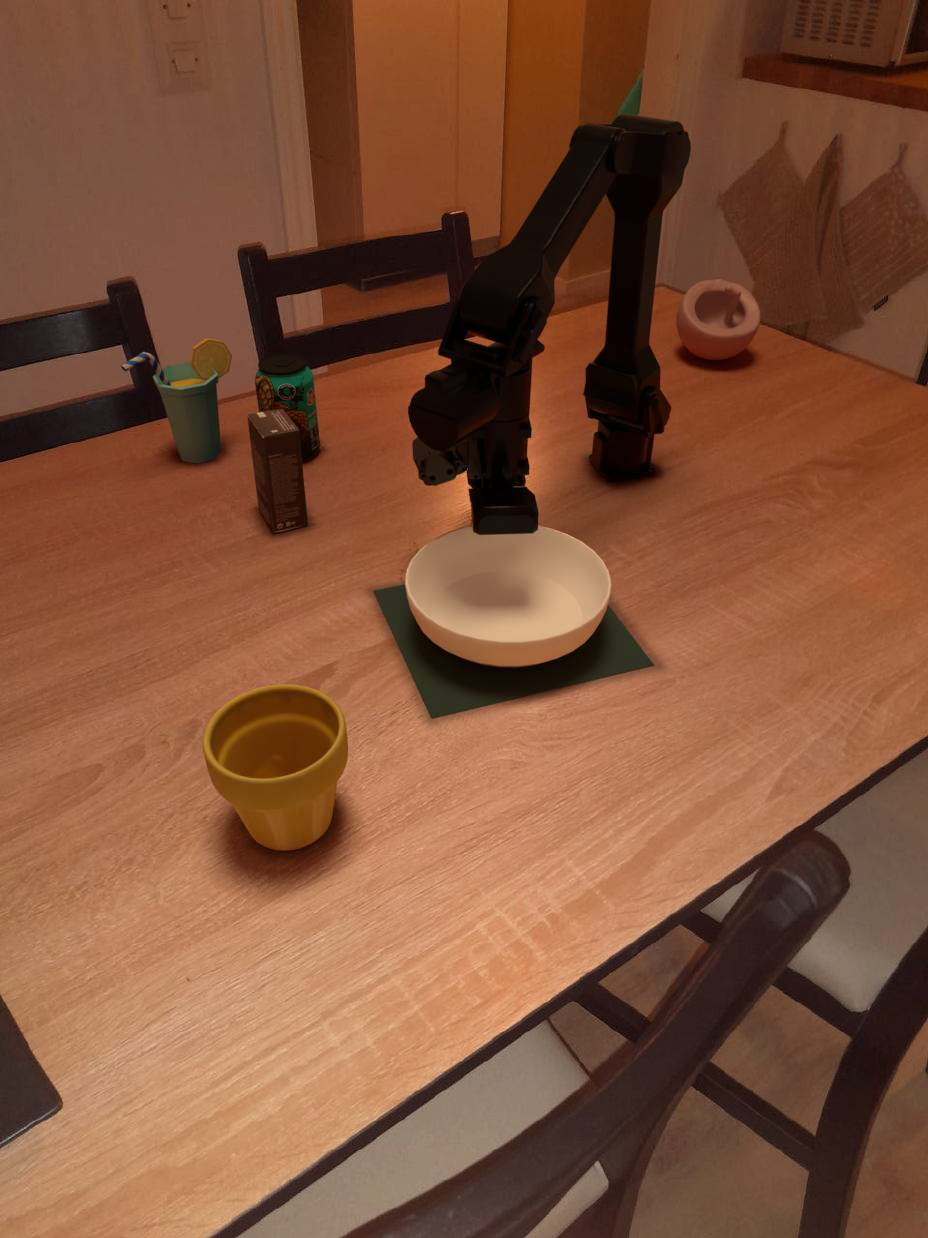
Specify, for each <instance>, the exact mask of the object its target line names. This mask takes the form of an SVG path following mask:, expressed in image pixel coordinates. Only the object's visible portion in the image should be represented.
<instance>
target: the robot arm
mask: <svg viewBox="0 0 928 1238" xmlns="http://www.w3.org/2000/svg"><path fill="white" fill-rule="evenodd" d="M691 150H692V144H691V140H690V136H689V132H688V131H686V130H685V128H684V124H683V123H681V122H680V121H679V120H671V119H665V118H658V117H652V116H651V117H649V116H645V115H638V114H631V113H620V114H619V115H618V116H616V117H615V119H614V120H613V121H612V122H611V123H593V122H587V123H585V124H580V125H578V126H577V127H576V128H575V129H574V131H573V133H572V136H571V137H570V141H569V146H568V151H567V153H566V154H565V156H564V157H563V158H562V160H561V162H560V163H559V165H558V167H557V168H556V170H555V172H554V173H553V175H552V177H550V180H549V181H548V183H547V184H546V186H545V188H544V190H543V191H542V193H541V194H540V196H539V197H538V199H537V201H536V202H535V204H534V205H533V206H532V208H531V210H530V212H529V213H528V215H527V216H526V218H525V219H524V221H523V223H522V225H521V226H520V227H519V229H518V231H517V232H516V233H515V236H514V237H513V238H512V239H511V241H510V242H509V243H508V244H507V245H505V246H503V247H501V248H499V249H498V250H496V251H494V252H492V253H490V254H488V255H487V256H485V258H484V259H483V260H482V261H481V262H480V263H479V264H478V265H477V267H476V268H475V269H474V270H473V271H472V273H471V274H470V276H469V277H467V279H465V282H464V283H463V285H462V287H461V289H460V291H459V293H458V295H457V297H456V301H455V304H454V307H453V309H452V312H451V315H450V317H449V320H448V323H447V326H446V328H445V330H444V333H443V336H442V338H441V342H440V345H439V347H438V350H437V355H438V356H440V357H443V358H446V359H449V360H450V364H448V365H446V366H444V367H442V368H440V369H436V370H433V371H431V372H429V373H428V374H426V375H425V377H424V387H422V388H420V389H419V390H417V391H416V392H415V393H414V394H413V395H412V397H411V399H410V402H409V405H408V406H407V415H408V420H409V423H410V426H411V428H412V430H413V432H414V434H415V435H416V438H414V439H413V440H412V442H411V443H412V444H411V445H412V460H413V462H414V464H415V466H416V469H417V473H418V475H417V476H418V479H419V480H420V481H422V482H423V485H424V486H427V487H431V486H433V487H437V486H440V485H442V484H447V483H449V482H451V481H454V480H456V478H457V477H458V476H459V475H462V474H464V473H465V472H466V480H467V485H468V486H469V487H470V488H468V497H469V503H470V516H471V517H470V518H471V519H470V520H471V525H472V527H473V532H474V533H476V534H478V535H499V534H533V533H534V532H536V531H537V530H538V526H539V519H540V517H539V516H540V513H539V508H538V504H537V503H538V502H537V498H536V494H535V493H534V492H532V491H531V490H530V489H529V488H528V486H526V483H527V479H526V476H530V467H531V466H530V462H529V458H528V457H529V456H528V448H529V447H528V446H529V439H532V433H533V432H532V431H533V428H532V424H531V419H530V413H531V411H530V410H531V392H532V391H531V390H532V376H533V358H535V357H537V356H538V355H540V354H542V353H543V352H544V351H545V348H546V346H545V344H544V343H542V342H541V341H540V340H539V338H540V336H541V335H542V333H543V331H544V329H545V328H546V325H547V323H548V319H549V317H550V314H551V312H552V311H553V308H554V306H555V303H556V293H555V292H556V291H555V280H556V277H557V275H558V273H559V271H560V270H561V268H562V266H563V264H564V263H565V261H566V260H567V258H568V256H569V254H570V253H571V251H572V250H573V248H574V247H575V245H576V243H577V241H578V240H579V238H580V237H581V235H582V233H583V232H584V230H585V229H586V227H587V225H588V223H589V222H590V220H591V219H592V217H593V215H594V214H595V212H596V211H597V209H598V208H599V206H600V204H601V202H602V200H603V199H604V198H605V196H606V198H607V201H608V202H609V204H610V207H611V208H612V211H613V213H614V214H613V215H614V218H613V219H614V220H613V229H612V230H613V231H612V245H611V258H610V270H609V271H610V273H609V284H608V297H607V299H608V300H607V313H606V323H605V324H606V325H605V337H604V338H605V339H604V346H603V347H602V349H601V350H600V351H599V352H598V354H597V355H596V357H595V358H594V359H593V360H592V362H589V363H588V364H587V366H586V367H585V369H584V370H585V372H584V374H585V381H584V389H583V392H582V396H584V400H585V401H584V402H585V407H586V414H587V419H591V420H596V421H597V431H594V433H593V438H592V440H593V441H592V448H591V453H589V455H588V460H589V461H590V462H591V463H592V464H593V466H594V467H595V468H596V469H597V470H598V471H599V472H600V473H601V474H602V475H603V477H604V478H605V479H606V480H607V481H608V482H611V483H614V482H619V481H625V480H630V479H634V478H642V477H646V476H651V475H656V474H657V472H658V470H657V468H656V467H655V466H654V465H653V463H651V462H652V456H653V448H654V441H655V435H661V434H663V433H665V428H666V425H668V422H669V419H670V416H671V412H672V406H671V404H670V402H669V401H668V399H667V397H666V396H665V395H664V392H663V391H662V390H661V370H662V369H661V366H660V363H659V361H658V359H657V358H656V355H655V353H654V351H653V349H652V347H651V345H650V337H651V329H652V318H653V310H654V301H655V300H654V299H655V292H656V291H655V290H656V282H657V271H658V263H659V254H660V253H659V252H660V244H661V243H660V242H661V233H662V224H663V216H664V211H665V209H666V208H667V207H668V205H669V204H670V202H671V201H672V200H673V198H674V197H675V195H677V193H678V192H679V190H680V189H681V187H682V185H683V181H684V176H685V170H686V168H687V166H688V164H689V161H690V157H691ZM468 334H469V335H472V336H474V337H478V338H481V339H485V340H488V341H492V342H493V343H491V344H489V345H484V344H481V343H477V342H474V341H472V340H467V339H465V338H466V336H467V335H468Z"/></svg>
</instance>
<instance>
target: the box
mask: <svg viewBox="0 0 928 1238" xmlns="http://www.w3.org/2000/svg"><path fill="white" fill-rule="evenodd" d="M247 424H248V432H249V441H250V449H251V458H252V466H253V474H254V483H255V491H256V499H257V507H258V511H259V512H260V514H261V515H262V517H263V519H264V520H265V522H266V524H267V525H268V527H269V528H270V530H271V532H272V533H274V534H276V533H280V534H281V533H282V532H286V531H291V530H294V529H298V528H301V527H305V526H307V525H308V524H309V522H308V521H309V520H308V510H307V509H308V508H307V498H306V497H307V496H306V488H305V480H304V479H305V478H304V468H303V467H304V466H303V461H302V456H301V445H300V434H299V429H298V428H297V426H296V425H295V424H294V422H293V421H292V420H291V419H290V417H289V416H288V415H287V414H286V412H285V411H284V410H283V409H278V410H271V411H265V412H259V411H258V412H255V413H249V414H248V415H247Z"/></svg>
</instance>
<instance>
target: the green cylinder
mask: <svg viewBox="0 0 928 1238" xmlns="http://www.w3.org/2000/svg"><path fill="white" fill-rule="evenodd" d="M257 367H258V369H257V371H256V374H255V376H254V386H255V393H256V400H257V407H258V413H259V412H265V411H271V410H278V409H283V410H284V411H285V412H286V414H287V415H288V416H289V417H290V419H291V420H292V421H293V422H294V424H295V425H296V426H297V428H298V429H299V434H300V445H301V456H302V462H305V461H307V460H309V459H311V458H313V457H314V456H315V455H316V454H317V452H318V451H319V450H320V447H321V439H320V429H319V420H318V410H317V400H316V399H317V398H316V390H315V380H314V374H313V372H312V370H311V368H309V366H308V365H307V360H306V358H305V357H304V356H302V355H299V354H296V353H289V352H284V353H283V352H282V353H281V352H280V353H273V354H270V355H267V356H264V357H263V358H261V359H260V360H258V363H257Z"/></svg>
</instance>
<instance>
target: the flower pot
mask: <svg viewBox="0 0 928 1238" xmlns="http://www.w3.org/2000/svg"><path fill="white" fill-rule="evenodd" d="M347 729H348V728H347V723H346V718H345V715H344V712H343V711H342V709H341V707H340V706H339V704H338V703H337V702H336V701H335V700H334V699H333V698H331V697H330V696H329V695H328V694H326V693H324V692H323V691H320V690H319V689H316V688H314V687H310V686H306V685H300V684H295V683H294V684H292V683H279V684H269V685H265V686H260V687H256V688H253V689H250V690H248V691H245V692H242V693H241V694H239V695H237V696H235V697H232V698H231V699H230V700H228V701H226V702H225V703H224V704H223V705H222V706H220V708H218V709H217V710H216V712H215V713H214V714H213V715H212V716H211V718H210V719H209V721H208V722H207V725H206V726H205V729H204V732H203V736H202V752H203V757H204V760H205V764H206V768H207V772H208V775H209V778H210V780H211V783H212V785H213V787H214V789H215V790H216V792H217V793H218V794H219V795H220V796H221V798H223V799H224V800H225V801H226V802H228V803H230V804H231V805H232V806H233V808H234V810H235V812H236V813H237V815H238V816H239V818H240V819H241V822H242V824H243V825H244V826H245V829H246V830H247V832H248V833H249V835H250V837H252V839H253V840H254V841H255V842H256V843H258V844H259V845H261V846H263V847H265V848H267V849H271V850H274V851H279V852H280V851H281V852H283V851H284V852H285V851H286V852H287V851H294V850H299V849H302V848H305V847H307V846H308V845H312V844H313V843H315V842H316V841H317V840H319V839H320V838H321V837H322V836H323V835H325V834H326V832H327V830H328V829H329V826H330V825H331V823H332V819H333V812H334V806H335V799H336V793H337V788H338V782H339V780H340V779H341V778H342V776H343V773H344V771H345V770H346V766H347V765H348V764H347V763H348V759H349V740H348V739H349V738H348V730H347Z"/></svg>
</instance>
